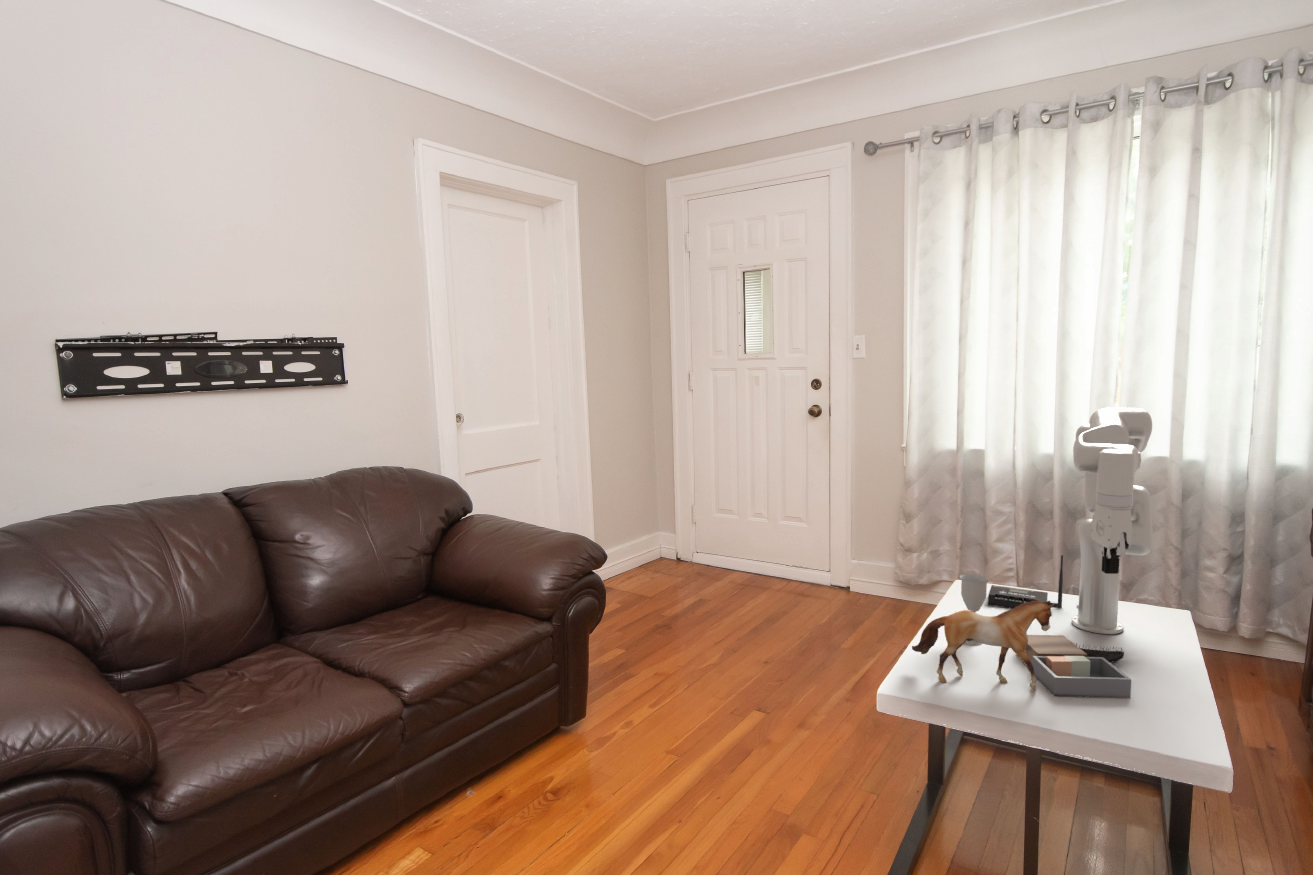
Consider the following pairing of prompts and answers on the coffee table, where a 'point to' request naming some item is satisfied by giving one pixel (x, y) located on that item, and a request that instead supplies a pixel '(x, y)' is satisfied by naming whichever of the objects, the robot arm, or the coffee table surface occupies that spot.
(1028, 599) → the wireless router
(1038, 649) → the brown square platform
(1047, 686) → the box
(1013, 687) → the coffee table surface
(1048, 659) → the peach cube block
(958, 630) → the horse figurine
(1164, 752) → the coffee table surface
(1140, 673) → the coffee table surface
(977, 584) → the chalice
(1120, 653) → the hairbrush
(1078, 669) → the pale green cube
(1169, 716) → the coffee table surface
